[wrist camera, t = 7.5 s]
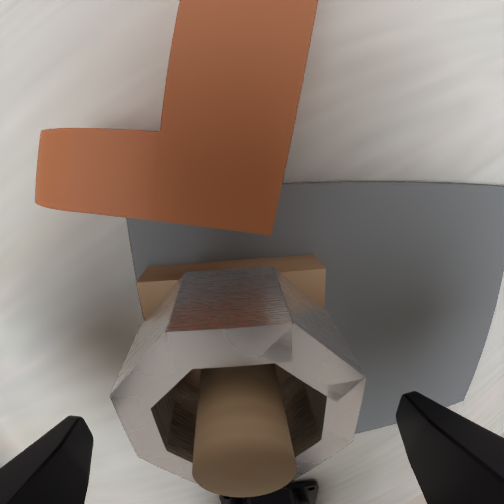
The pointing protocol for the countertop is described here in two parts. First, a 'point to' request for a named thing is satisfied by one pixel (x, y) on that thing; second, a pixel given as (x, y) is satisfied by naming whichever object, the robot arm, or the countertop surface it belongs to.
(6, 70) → the countertop surface
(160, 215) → the crank
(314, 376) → the collar
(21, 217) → the countertop surface
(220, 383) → the tan stamp
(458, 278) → the mat
